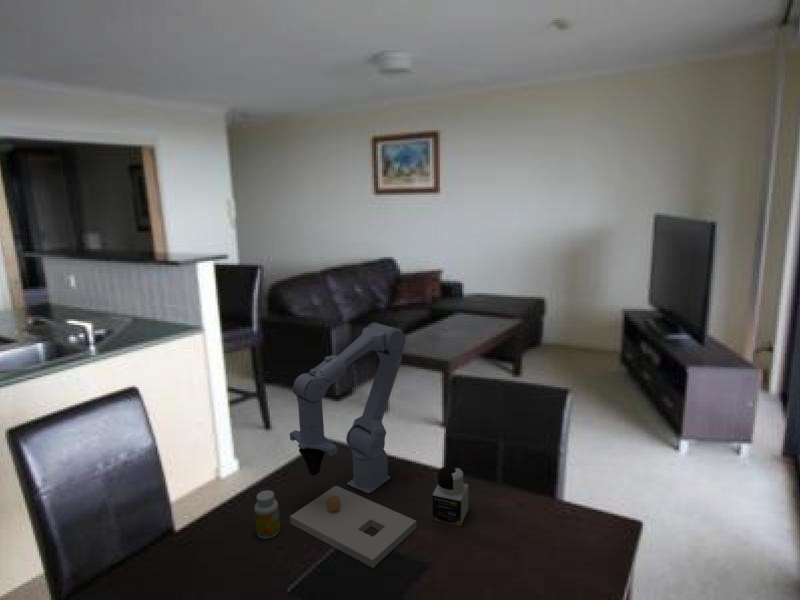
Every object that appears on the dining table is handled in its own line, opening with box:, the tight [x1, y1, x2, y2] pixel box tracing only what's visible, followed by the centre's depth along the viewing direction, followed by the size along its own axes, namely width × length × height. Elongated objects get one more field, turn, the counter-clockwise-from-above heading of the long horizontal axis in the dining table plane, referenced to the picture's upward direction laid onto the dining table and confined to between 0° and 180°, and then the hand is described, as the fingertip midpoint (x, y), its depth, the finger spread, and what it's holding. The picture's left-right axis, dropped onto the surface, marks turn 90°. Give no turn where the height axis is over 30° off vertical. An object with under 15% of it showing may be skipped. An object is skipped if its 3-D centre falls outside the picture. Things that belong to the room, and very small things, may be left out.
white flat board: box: [289, 485, 417, 569], centre depth 123 cm, size 26×16×2 cm, turn 53°
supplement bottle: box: [253, 489, 281, 539], centre depth 121 cm, size 5×5×10 cm
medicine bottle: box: [432, 465, 469, 527], centre depth 125 cm, size 7×7×12 cm
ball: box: [326, 496, 341, 511], centre depth 126 cm, size 4×4×4 cm
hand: (314, 473), depth 128 cm, fingers closed
